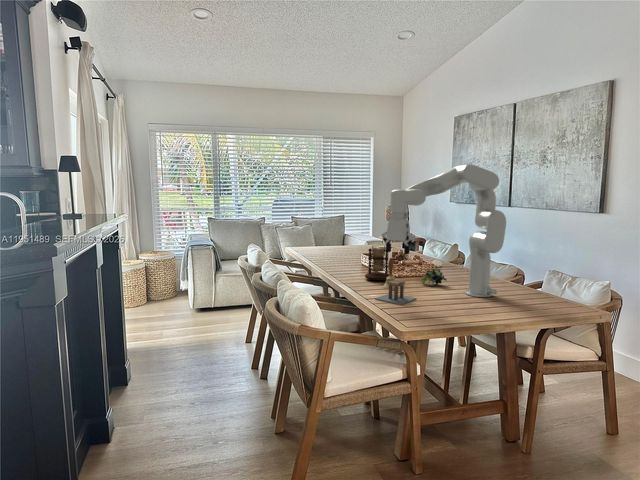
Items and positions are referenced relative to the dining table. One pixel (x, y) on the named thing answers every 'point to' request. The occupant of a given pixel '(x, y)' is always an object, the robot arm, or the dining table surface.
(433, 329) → the dining table surface
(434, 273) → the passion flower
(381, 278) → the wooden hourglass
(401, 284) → the walnut stool
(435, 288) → the dining table surface
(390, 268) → the hand bell
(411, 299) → the slate mat
